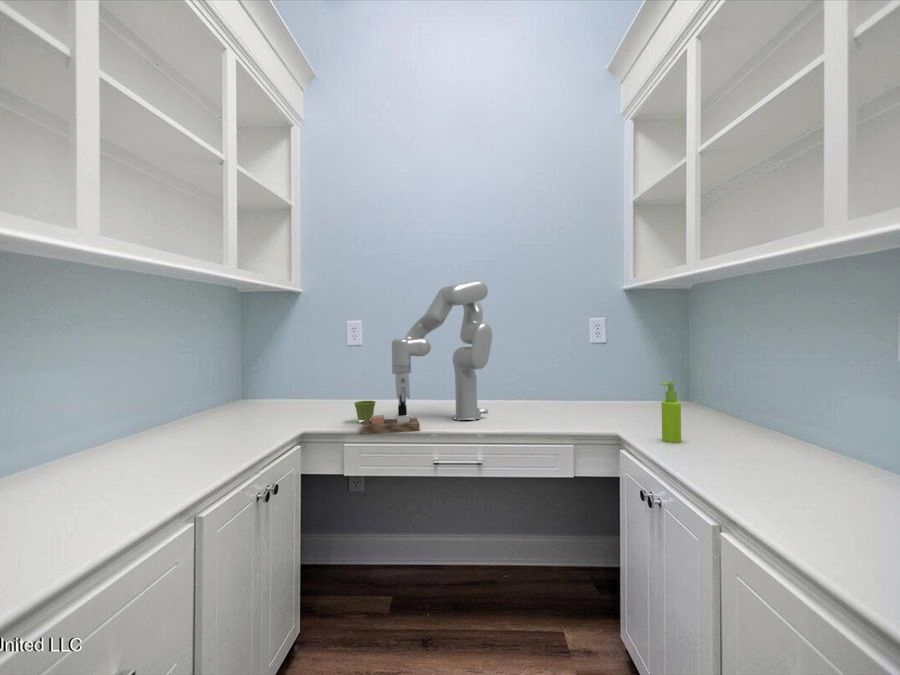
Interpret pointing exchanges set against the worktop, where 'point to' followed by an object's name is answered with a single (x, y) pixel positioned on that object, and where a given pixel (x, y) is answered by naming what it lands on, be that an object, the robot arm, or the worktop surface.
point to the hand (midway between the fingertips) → (402, 415)
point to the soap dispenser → (671, 415)
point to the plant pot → (365, 409)
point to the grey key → (402, 418)
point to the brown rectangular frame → (390, 426)
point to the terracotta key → (377, 419)
